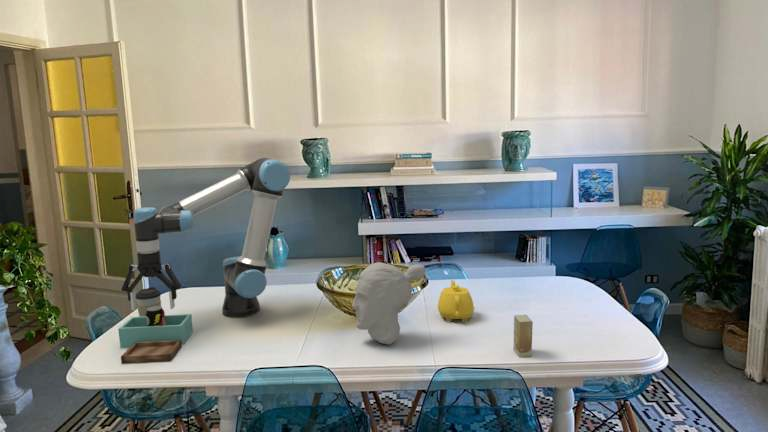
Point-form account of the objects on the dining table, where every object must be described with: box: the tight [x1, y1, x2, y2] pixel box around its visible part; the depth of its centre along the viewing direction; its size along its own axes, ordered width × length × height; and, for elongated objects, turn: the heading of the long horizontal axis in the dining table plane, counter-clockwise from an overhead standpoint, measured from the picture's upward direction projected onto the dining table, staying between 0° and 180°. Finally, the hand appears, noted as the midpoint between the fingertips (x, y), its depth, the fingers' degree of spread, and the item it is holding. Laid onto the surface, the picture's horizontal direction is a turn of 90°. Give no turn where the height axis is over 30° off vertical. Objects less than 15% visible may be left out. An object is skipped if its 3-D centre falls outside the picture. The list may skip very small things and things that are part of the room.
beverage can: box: [146, 305, 166, 326], centre depth 204 cm, size 6×6×12 cm
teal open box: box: [118, 313, 194, 348], centre depth 204 cm, size 22×12×7 cm, turn 93°
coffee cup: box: [135, 286, 162, 317], centre depth 217 cm, size 9×9×15 cm
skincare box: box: [513, 314, 534, 358], centre depth 183 cm, size 6×4×12 cm
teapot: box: [437, 279, 475, 323], centre depth 218 cm, size 14×20×13 cm
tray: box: [120, 340, 183, 364], centre depth 191 cm, size 16×12×2 cm
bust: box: [351, 261, 426, 345], centre depth 196 cm, size 15×26×28 cm, turn 99°
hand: (153, 308), depth 203 cm, fingers open, 13 cm apart
